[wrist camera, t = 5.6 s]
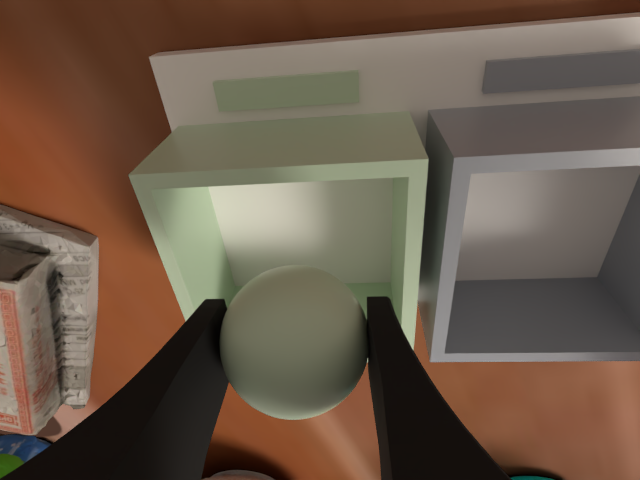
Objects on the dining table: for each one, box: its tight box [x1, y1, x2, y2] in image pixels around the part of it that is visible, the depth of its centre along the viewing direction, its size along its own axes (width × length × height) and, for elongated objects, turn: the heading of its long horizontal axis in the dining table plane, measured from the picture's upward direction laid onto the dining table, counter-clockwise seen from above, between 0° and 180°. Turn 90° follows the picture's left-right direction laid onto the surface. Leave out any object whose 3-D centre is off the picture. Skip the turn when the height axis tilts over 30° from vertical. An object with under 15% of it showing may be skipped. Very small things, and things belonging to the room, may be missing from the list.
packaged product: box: [0, 204, 99, 435], centre depth 26 cm, size 18×5×10 cm
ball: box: [219, 265, 369, 420], centre depth 12 cm, size 4×4×4 cm
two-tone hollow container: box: [128, 12, 640, 362], centre depth 17 cm, size 22×14×6 cm, turn 95°
